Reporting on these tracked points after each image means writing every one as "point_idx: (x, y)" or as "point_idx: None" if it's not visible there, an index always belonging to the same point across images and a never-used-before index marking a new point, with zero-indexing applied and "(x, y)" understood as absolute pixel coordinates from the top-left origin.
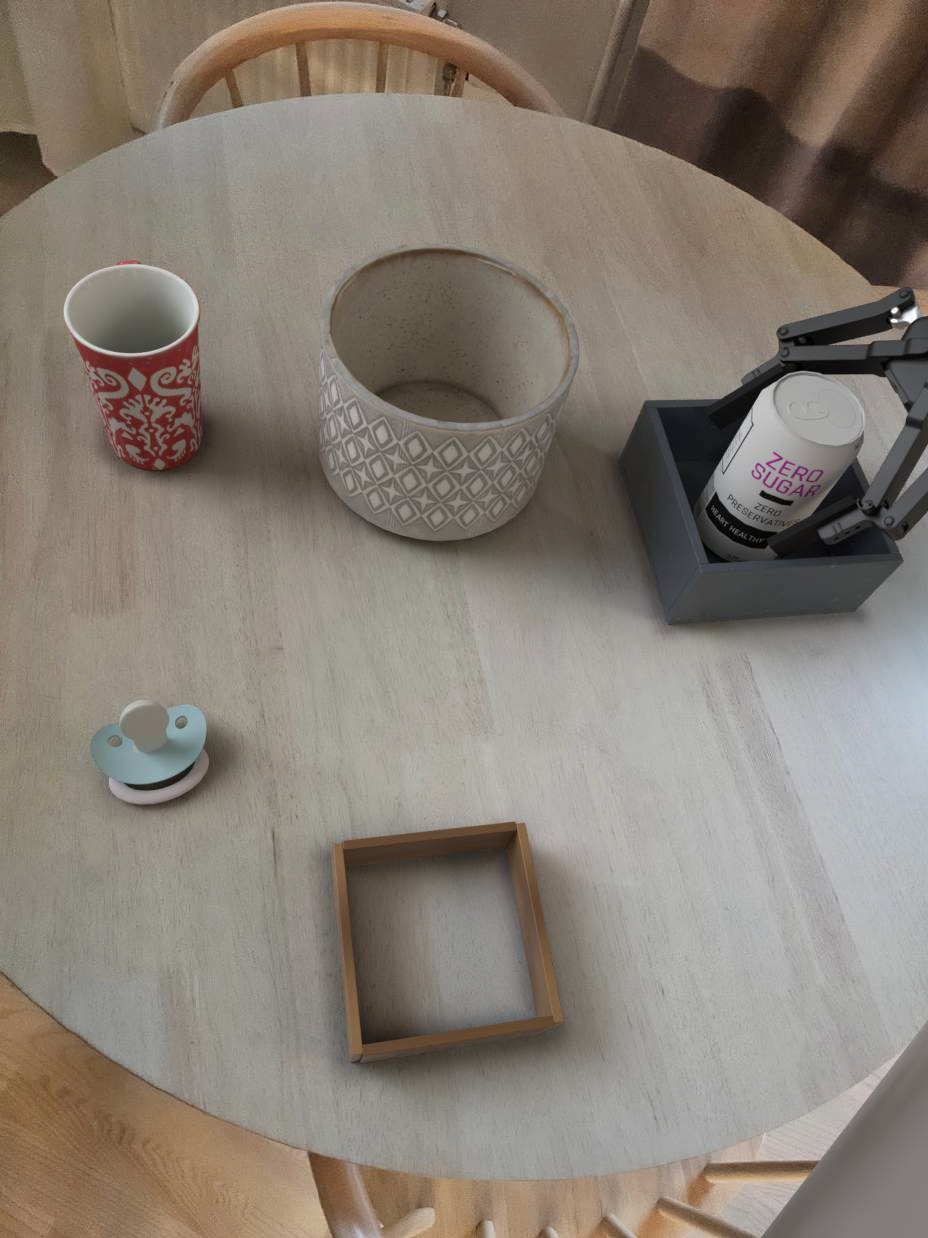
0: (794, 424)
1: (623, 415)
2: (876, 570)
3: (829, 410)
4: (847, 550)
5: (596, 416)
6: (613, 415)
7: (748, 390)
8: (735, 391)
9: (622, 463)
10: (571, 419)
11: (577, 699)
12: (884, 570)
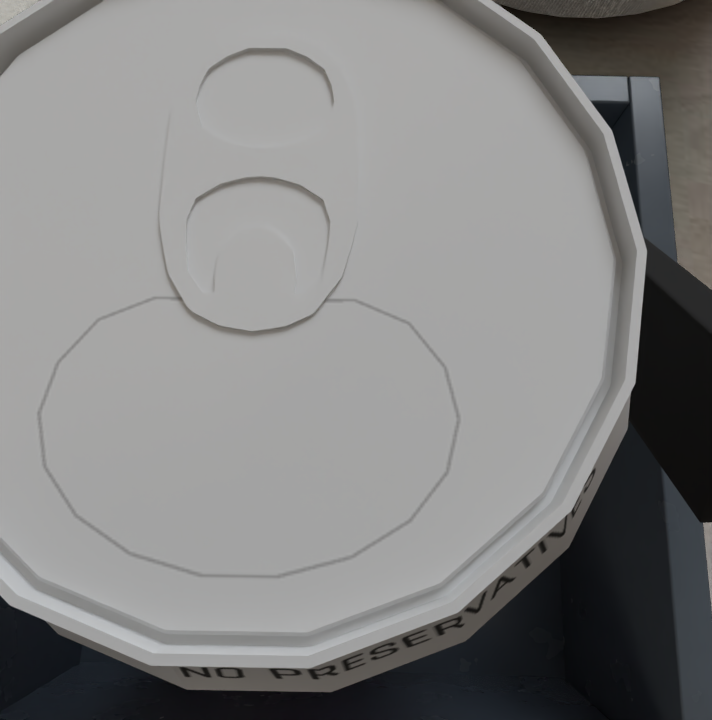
0: (142, 41)
1: (701, 263)
2: None
3: (235, 346)
4: (159, 691)
5: (693, 200)
6: (699, 240)
7: (654, 279)
8: (661, 256)
9: None
10: (680, 142)
11: (11, 8)
12: None
